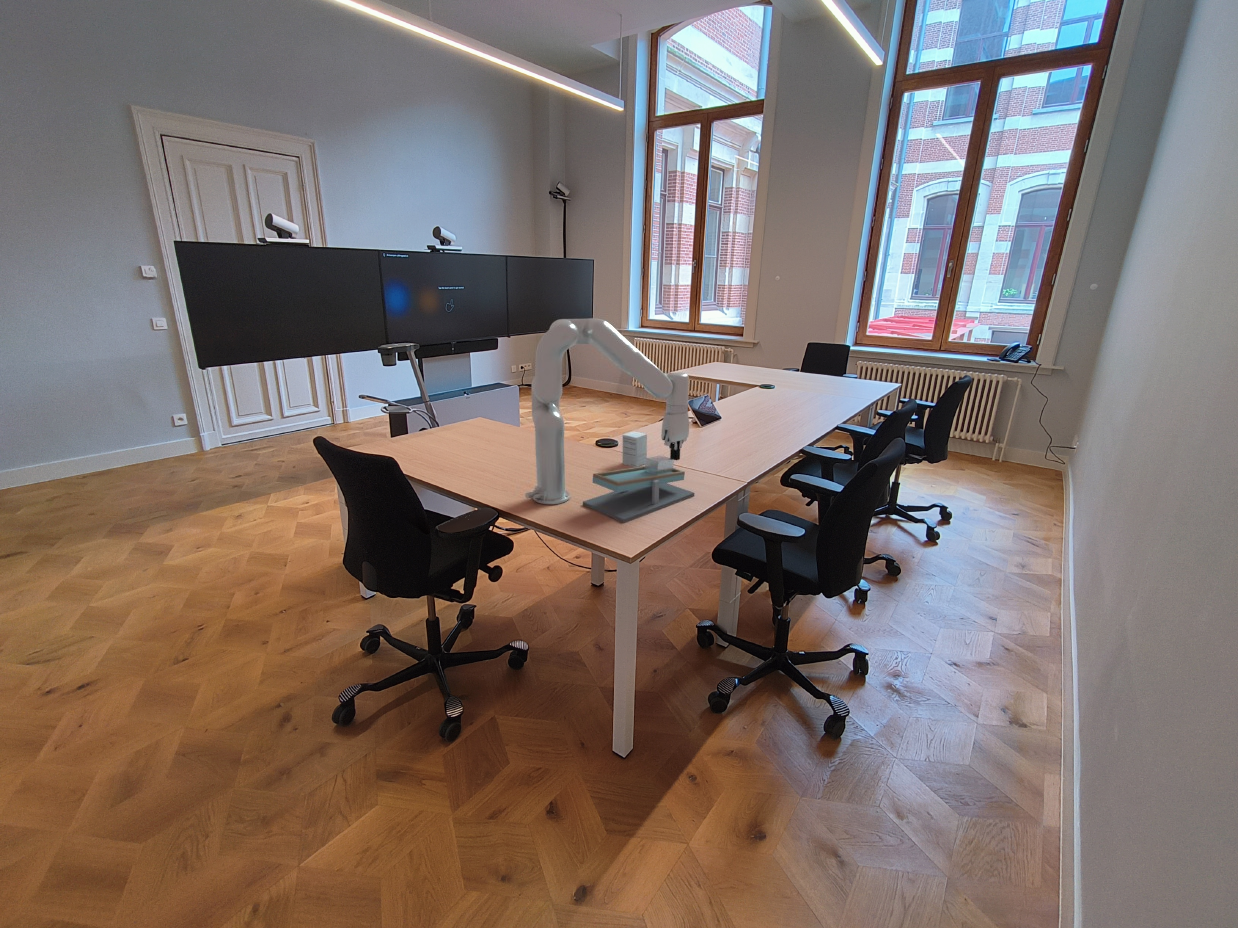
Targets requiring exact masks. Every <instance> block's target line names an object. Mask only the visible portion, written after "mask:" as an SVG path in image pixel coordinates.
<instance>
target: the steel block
mask: <svg viewBox="0 0 1238 928" xmlns="http://www.w3.org/2000/svg"><path fill="white" fill-rule="evenodd" d="M674 462H675V460H674V459H671V458H670V457H667V456H664V455H658V456H657V455H655V456H647V458H646V460H645V464H644V466H645V470H644V472H647V473H650V474H653V475H662V474H668V473H673V468H674V464H675V463H674Z"/></svg>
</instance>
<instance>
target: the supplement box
mask: <svg viewBox="0 0 1238 928" xmlns="http://www.w3.org/2000/svg"><path fill="white" fill-rule="evenodd" d="M647 453H648V434H647V433H643V432H637V431H630V432H627V433H624V434H622V465H625V466H629V467H631V468H635V467H641V466H644V465H645V460H646V458H648V456H647V455H648V454H647Z"/></svg>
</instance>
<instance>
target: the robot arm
mask: <svg viewBox="0 0 1238 928" xmlns="http://www.w3.org/2000/svg"><path fill="white" fill-rule="evenodd" d="M575 345H577V346H578V345H593V346H594V347H595V348H596V349H597V350H599V352H601V353H602V354H603V355H604V356H606V358H607V359H609V361H611V362H612V363H613V364H614V365H615V366H616V367H618V368H619V369H620V370H622V371H623V372H624V373H625V374H628V375H629V376H631V377H632V378H633V379H634V380H636V381H637V382H638V383H640V384H641V385H642V386H643V389H644V390H645V391H646V392H647V393H649V394H650V395H651V396H653V397H655V398H656V399H661V400H662V399H665V400H666V401H665V405H666V406H665V413H663V419H662V425H661V435H660V437H661V439H660V440H662V441H664V443H663V445H664V446H666V447H669V449H670V450H669V451H670V452H669V453H670V455H669V456H670V457H669V458H671V459H674V461H679V460H680V459H681V449H682V447H683V444H684V443H685V442H687V439H688V437H689V434H690V418H689V417H690V416H689V412H688V410H689V409H688V408H689V390H690V389H689V387H690V384H689V383H690V377H689V374H687V373H685V372H678V371H677V372H668V373H667V372H663V371H662V370H661V369H660V368H659V367H657V366H656V365H655V364H654V363H653V362H652V361H651V360H650V359H648V358H647V357H646V356H645V355H644V354H643V353H642V352H641V351H640V350H639V349H638V348H637V347H636V346H634V345H633V344H632V343H631V342H630V341H629V340H628V339H627V338H626V337H625V336H624V335H622V333H620V332H619V331H618V330H617V329H616V328H615V327H614V326H613V325H612V324H610V323H609V322H608V321H606V320H605V319H601V318H598V317H595V318H594V317H593V318H592V317H591V318H590V317H589V318H561V319H557V320H554V321H553V322H552V323H551V325H550V327H549V329H548V330H547V331H546V332H545V333H544V334H543V336H542V337H541V339H540V340H539V342H538V343H537V347H536V351H535V361H534V362H535V363H534V364H535V366H534V369H535V370H534V371H535V372H534V375H535V376H534V377H533V378H532V381H531V388H530V389H531V393H530V394H531V417H532V418H531V419H532V423H533V425H534V437H535V438H534V441H535V442H534V443H535V448H534V449H535V464H536V466H535V467H536V484H537V485H536V486H534V489H533V490H532V491H529V492H526V493H524V495H525V499H531V498H532V499H533V501H534V502H535V503H538V504H542V505H559V504H562V503H565V502H567V501H568V500H570V498H571V494H570V492H569V491H567V490H566V473H565V472H566V468H565V462H566V461H565V428H566V427H565V421H564V418H563V415H562V413H561V412H560V399H561V397H562V395H563V374H562V373H563V370H562V369H563V359H564V358H563V357H564V354H565V353H566V351H567V350H569V349H570V348H572V347H573V346H575Z"/></svg>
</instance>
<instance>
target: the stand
mask: <svg viewBox="0 0 1238 928" xmlns="http://www.w3.org/2000/svg"><path fill="white" fill-rule="evenodd" d="M692 497H693V498H694V497H695V492H693V491H690V490H689V489H685V488H682V487H679V486H675V485H673V484H669V483H665V484H659V480H655V481H652V486H649V487H643V488H638V489H633V490H627V491H622V492H615V491H611V492H608V493H605V494H602V495H598V496H596V497H593V498H589V499H587V500H584V501H582V506H585V507H586V508H588V509H591V510H593V511H596V512H598V513H600V514H602V515H605V516H607V517H609V518H612V519H614V520H616V521H618V522H619V523H620V522H621V523H624V524H625V523H627V522H630V521H632V520H635V519H638V518H641V517H643V516H645V515H648V514H651V513H654V512H656V511H659V510H662V509H664V508H666V507H669V506H671V505H675V504H677V503H680V502H681V501H682V502H683V501H685V500H687V499H690V498H692ZM674 503H675V504H674Z"/></svg>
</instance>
